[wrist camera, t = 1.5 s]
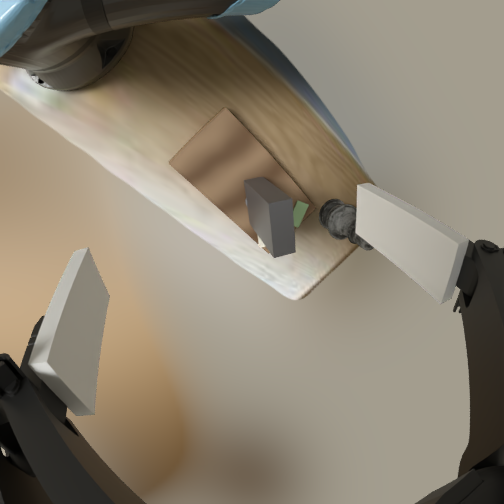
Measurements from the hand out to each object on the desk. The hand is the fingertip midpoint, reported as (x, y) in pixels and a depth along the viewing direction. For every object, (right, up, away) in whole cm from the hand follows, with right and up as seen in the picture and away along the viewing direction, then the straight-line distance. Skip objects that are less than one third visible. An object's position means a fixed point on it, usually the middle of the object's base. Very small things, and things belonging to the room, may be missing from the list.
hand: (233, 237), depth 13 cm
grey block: (+2, +5, +27) cm, 28 cm away
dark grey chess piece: (+14, +6, +33) cm, 36 cm away
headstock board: (0, +9, +27) cm, 28 cm away
